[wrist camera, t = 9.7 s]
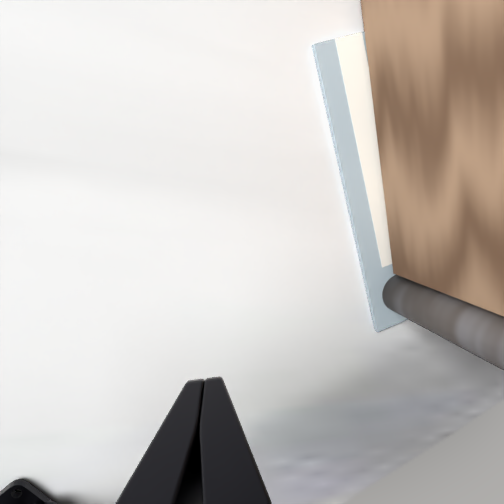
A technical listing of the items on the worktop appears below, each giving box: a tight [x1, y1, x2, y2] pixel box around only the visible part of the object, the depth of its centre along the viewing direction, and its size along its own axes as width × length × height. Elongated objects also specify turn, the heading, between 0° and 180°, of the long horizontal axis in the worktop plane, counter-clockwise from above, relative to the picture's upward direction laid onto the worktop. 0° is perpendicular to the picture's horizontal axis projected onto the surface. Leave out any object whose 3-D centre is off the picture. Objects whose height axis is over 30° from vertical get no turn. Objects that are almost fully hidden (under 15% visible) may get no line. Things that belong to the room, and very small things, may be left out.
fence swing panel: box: [361, 0, 504, 316], centre depth 17 cm, size 19×1×11 cm, turn 12°
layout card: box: [312, 32, 407, 332], centre depth 25 cm, size 17×17×1 cm
